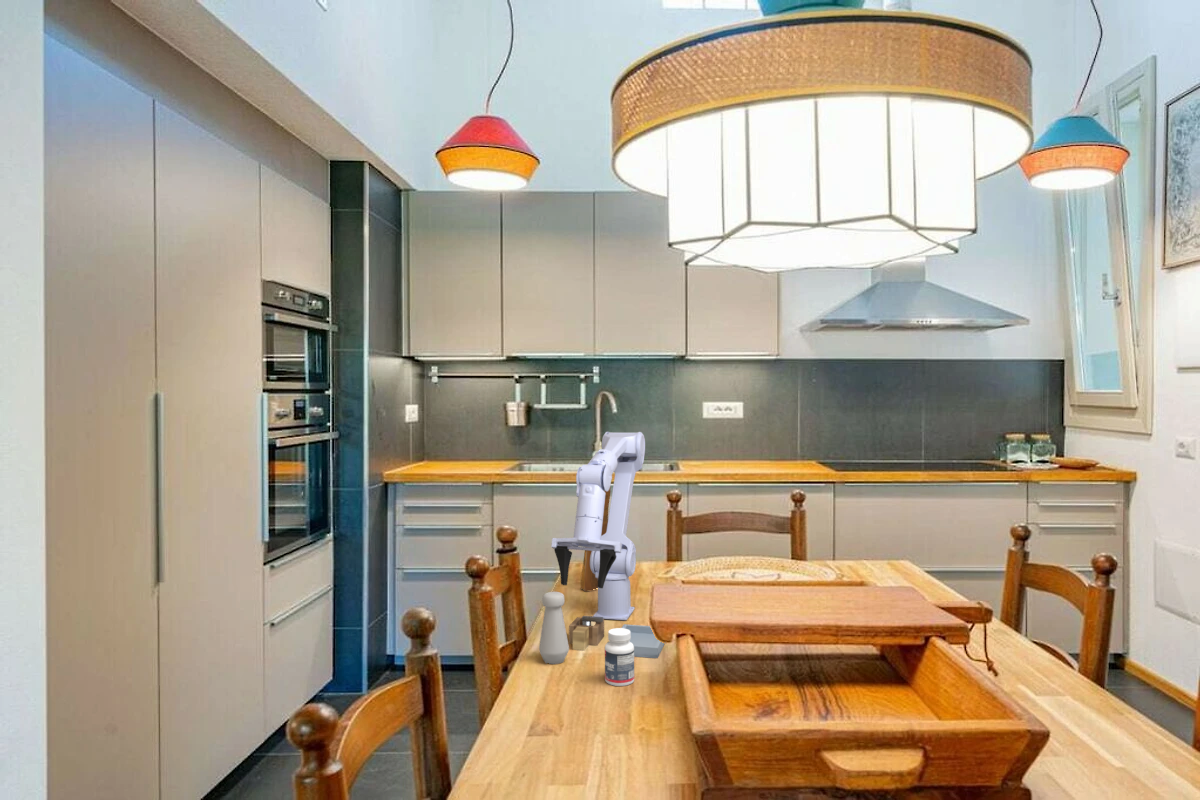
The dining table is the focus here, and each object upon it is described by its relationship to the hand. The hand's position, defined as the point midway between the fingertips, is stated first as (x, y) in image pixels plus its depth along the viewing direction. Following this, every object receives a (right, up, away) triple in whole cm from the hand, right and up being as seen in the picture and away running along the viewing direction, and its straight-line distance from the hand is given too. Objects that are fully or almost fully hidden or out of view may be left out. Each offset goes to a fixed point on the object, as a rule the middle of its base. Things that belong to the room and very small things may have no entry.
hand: (581, 586), depth 146 cm
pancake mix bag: (+3, -13, +50) cm, 51 cm away
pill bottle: (+7, -13, -18) cm, 23 cm away
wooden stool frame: (+1, -12, +3) cm, 13 cm away
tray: (+12, -12, +1) cm, 17 cm away
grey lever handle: (+2, -12, +4) cm, 13 cm away
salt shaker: (-5, -13, -7) cm, 15 cm away
